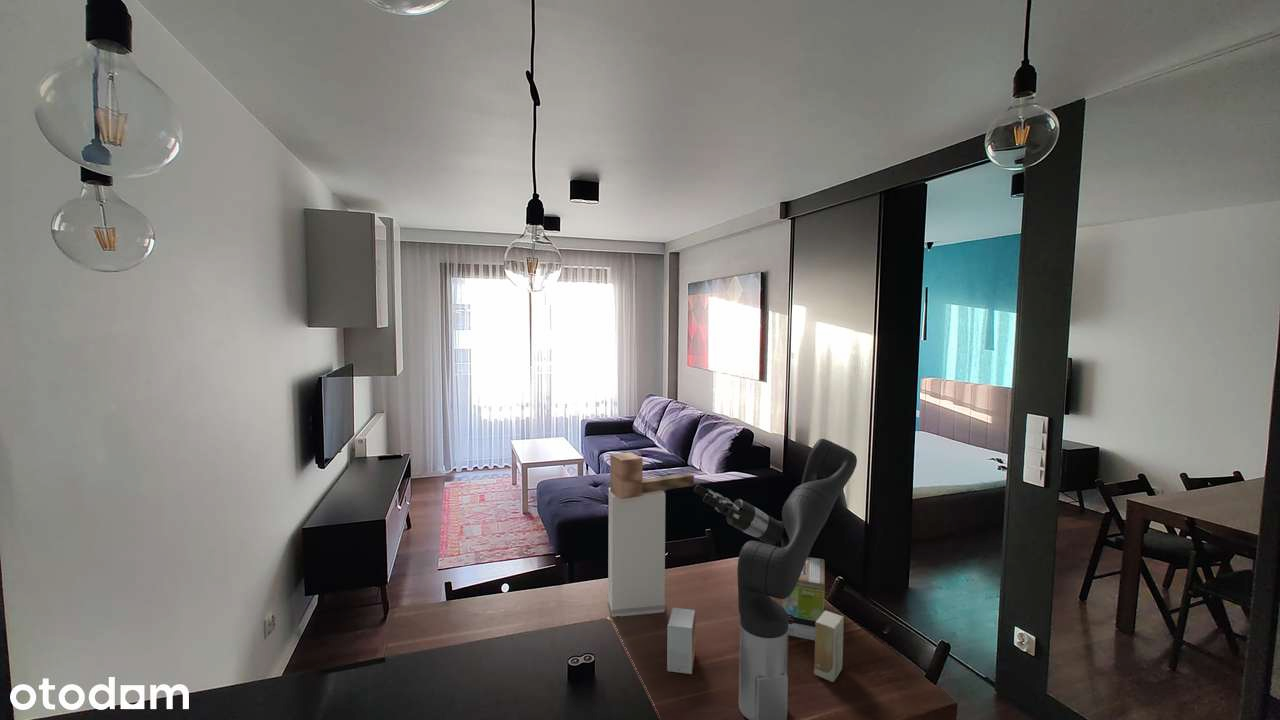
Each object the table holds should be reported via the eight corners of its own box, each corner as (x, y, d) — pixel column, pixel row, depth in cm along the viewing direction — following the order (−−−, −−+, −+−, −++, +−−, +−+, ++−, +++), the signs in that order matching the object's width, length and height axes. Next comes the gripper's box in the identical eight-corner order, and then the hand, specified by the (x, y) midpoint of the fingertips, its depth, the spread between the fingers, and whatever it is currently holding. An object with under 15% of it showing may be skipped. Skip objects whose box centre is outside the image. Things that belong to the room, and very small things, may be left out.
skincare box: (823, 660, 120) (825, 608, 119) (843, 668, 117) (844, 615, 116) (812, 675, 115) (814, 621, 114) (832, 683, 112) (834, 628, 111)
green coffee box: (823, 643, 127) (825, 583, 126) (780, 635, 130) (781, 576, 129) (823, 611, 141) (824, 557, 140) (784, 604, 144) (785, 552, 143)
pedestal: (658, 596, 148) (659, 484, 146) (665, 612, 140) (666, 494, 138) (607, 601, 145) (607, 487, 143) (611, 617, 137) (611, 497, 135)
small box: (691, 675, 115) (692, 628, 114) (666, 671, 116) (666, 625, 115) (695, 653, 122) (696, 609, 122) (671, 650, 124) (672, 606, 123)
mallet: (684, 480, 150) (684, 446, 149) (697, 487, 144) (698, 451, 143) (610, 491, 140) (610, 454, 139) (621, 499, 134) (621, 460, 133)
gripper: (744, 498, 154) (699, 473, 151) (764, 515, 140) (714, 488, 137) (732, 521, 154) (686, 496, 151) (751, 540, 140) (700, 513, 137)
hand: (699, 492), depth 144 cm, fingers open, 8 cm apart
